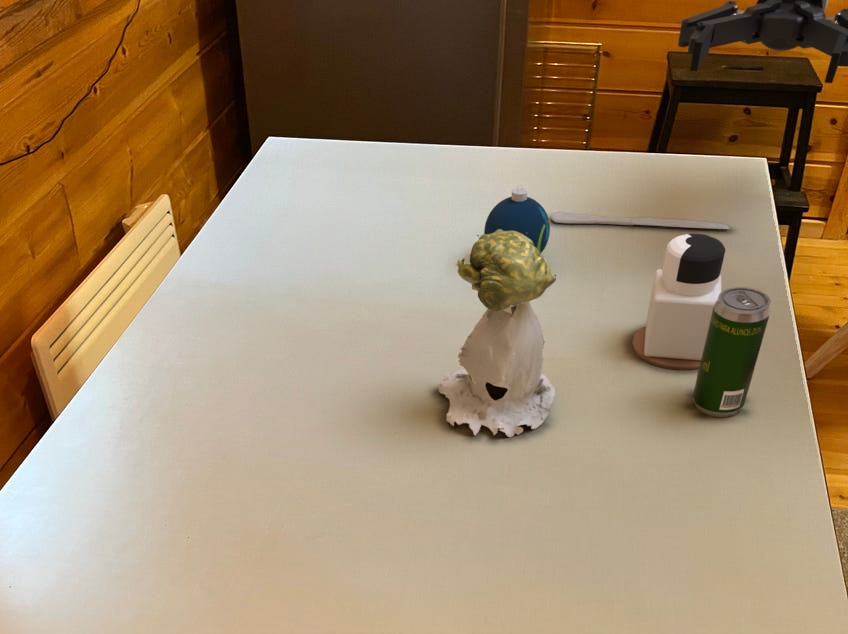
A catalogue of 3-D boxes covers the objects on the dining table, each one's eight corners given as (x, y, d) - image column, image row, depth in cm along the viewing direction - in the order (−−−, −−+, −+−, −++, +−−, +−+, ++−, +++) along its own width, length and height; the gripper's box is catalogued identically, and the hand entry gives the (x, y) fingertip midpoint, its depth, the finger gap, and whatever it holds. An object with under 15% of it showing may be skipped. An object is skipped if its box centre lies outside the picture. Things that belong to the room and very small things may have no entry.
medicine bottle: (707, 330, 112) (731, 228, 104) (708, 362, 108) (733, 258, 99) (645, 325, 114) (663, 225, 105) (643, 357, 109) (662, 254, 100)
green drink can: (753, 411, 102) (784, 305, 93) (710, 423, 101) (737, 317, 92) (724, 386, 105) (751, 281, 96) (681, 397, 104) (704, 293, 95)
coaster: (704, 321, 115) (704, 318, 114) (734, 365, 108) (734, 362, 108) (621, 328, 114) (622, 325, 114) (646, 373, 108) (647, 370, 107)
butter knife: (552, 210, 136) (550, 219, 134) (729, 221, 131) (729, 230, 129) (552, 213, 136) (550, 222, 134) (728, 224, 132) (728, 233, 130)
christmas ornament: (516, 284, 123) (522, 205, 116) (469, 263, 127) (472, 186, 120) (560, 262, 126) (568, 184, 119) (513, 242, 131) (518, 166, 124)
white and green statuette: (539, 367, 109) (555, 204, 96) (565, 431, 101) (586, 261, 87) (435, 376, 109) (437, 213, 96) (453, 442, 100) (457, 272, 87)
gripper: (895, 50, 111) (879, 114, 98) (677, 34, 119) (636, 90, 106) (919, -27, 106) (906, 30, 93) (690, -39, 113) (648, 12, 100)
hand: (762, 62), depth 99 cm, fingers open, 13 cm apart
